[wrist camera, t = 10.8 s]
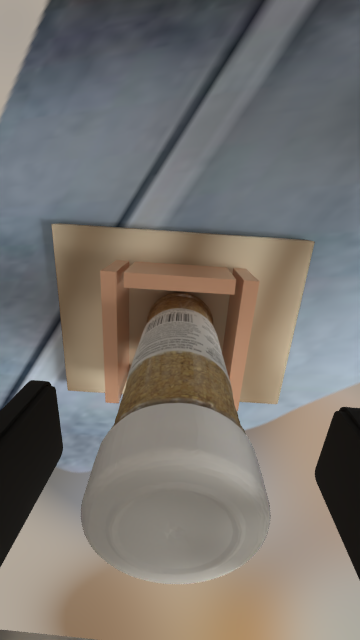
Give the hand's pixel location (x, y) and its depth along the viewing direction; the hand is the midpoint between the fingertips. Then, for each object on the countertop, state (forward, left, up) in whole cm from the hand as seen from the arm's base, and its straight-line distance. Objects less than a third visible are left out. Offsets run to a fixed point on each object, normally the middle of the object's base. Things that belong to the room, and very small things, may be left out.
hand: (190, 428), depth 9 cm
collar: (+1, 0, -10) cm, 10 cm away
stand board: (+1, 0, -11) cm, 11 cm away
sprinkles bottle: (0, 0, -10) cm, 10 cm away
